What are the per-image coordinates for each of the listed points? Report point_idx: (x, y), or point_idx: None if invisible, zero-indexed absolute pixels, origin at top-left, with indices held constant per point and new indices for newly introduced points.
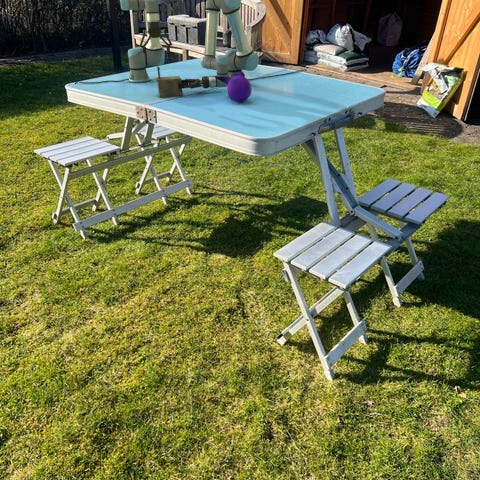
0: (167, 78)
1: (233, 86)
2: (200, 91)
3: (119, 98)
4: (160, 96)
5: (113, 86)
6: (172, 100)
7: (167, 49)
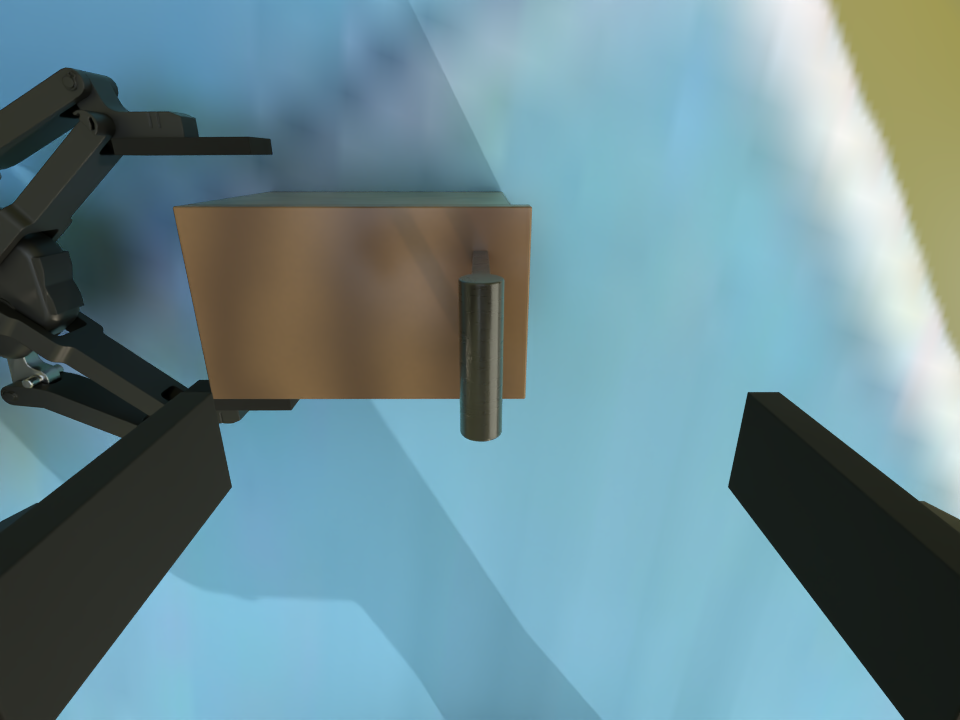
0: (371, 273)
1: None
2: None
3: (865, 309)
4: (495, 192)
5: (781, 708)
6: (384, 16)
7: (22, 535)
